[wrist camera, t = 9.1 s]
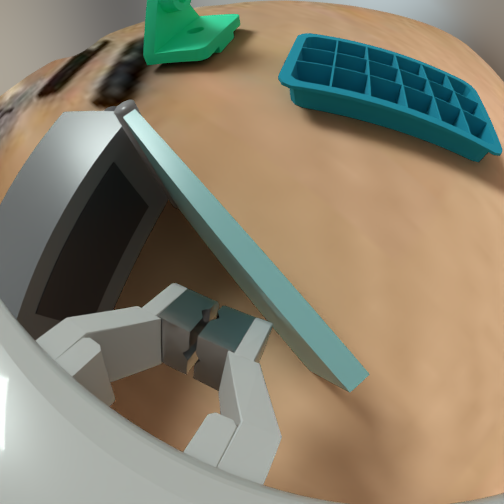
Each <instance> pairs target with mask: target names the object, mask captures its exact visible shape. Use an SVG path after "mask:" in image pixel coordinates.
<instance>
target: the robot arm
mask: <svg viewBox="0 0 504 504" xmlns="http://www.w3.org/2000/svg"><path fill="white" fill-rule="evenodd" d="M218 310H219V311H218ZM216 315H217V318H216V319H215V320H214V318H215V317H216ZM272 327H273V323H271V322H268V321H265V320H263V319H260V318H256V317H253V316H251V315H248V314H246V313H243V312H240V311H238V310H235V309H233V308H231V307H228V306H226V305H225V306H222V307H221V308H220V309H219V303H218V302H216V301H214V300H212V299H210V298H208V297H205V296H203V295H201V294H199V293H197V292H195V291H192V290H190V289H188V288H185V287H183V286H181V285H179V284H177V283H172V284H171V285H169V286H168V287H167V288H166V289H164V290H163V291H162V292H161V293H159V294H158V295H157V296H156V297H154V298H153V299H152V300H151V301H150V302H148V303H147V304H146V305H145V306H143V307H142V308H140V307H139V306H135V307H129V308H123V309H117V310H112V311H105V312H99V313H93V314H87V315H80V316H74V317H67V318H65V319H64V320H63V321H61V322H60V323H58V324H57V325H56V326H54V327H53V328H52V329H50V330H49V331H47V332H46V333H45V334H43V335H42V336H41V337H39V338H38V339H37V340H34V339H33V338H32V337H31V335H30V334H29V333H28V332H27V331H26V330H25V329H24V327H23V326H22V325H21V324H20V323H19V322H18V320H17V319H16V318H15V317H14V315H13V314H12V313H11V312H10V310H9V309H8V308H7V307H6V305H5V304H4V303H3V301H2V300H1V299H0V504H348V503H340V502H333V501H327V500H321V499H316V498H311V497H306V496H302V495H298V494H293V493H289V492H286V491H282V490H278V489H275V488H271V487H268V486H265V485H263V484H264V482H265V479H266V477H267V474H268V472H269V469H270V467H271V464H272V462H273V459H274V457H275V454H276V451H277V449H278V446H279V443H280V441H281V438H282V436H281V433H280V430H279V427H278V423H277V420H276V417H275V414H274V410H273V407H272V404H271V400H270V397H269V394H268V390H267V387H266V383H265V380H264V377H263V373H262V370H261V366H260V364H259V362H260V359H261V357H262V354H263V352H264V349H265V346H266V344H267V341H268V338H269V335H270V333H271V330H272ZM198 358H199V359H198ZM197 359H198V360H197ZM161 363H164V364H166V365H168V366H170V367H172V368H174V369H176V370H178V371H180V372H182V373H184V374H186V375H187V373H188V372H189V371H190V369H191V368H192V367H193V365H194V364H195V365H194V376H193V378H194V379H196V380H198V381H200V382H202V383H204V384H206V385H208V386H210V387H212V388H214V389H216V390H218V391H219V402H220V412H221V415H220V414H218V413H216V412H215V413H211V414H208V415H207V417H206V418H205V420H204V421H203V423H202V424H201V426H200V427H199V429H198V431H197V432H196V434H195V435H194V437H193V438H192V440H191V441H190V443H189V444H188V446H187V447H186V449H185V450H184V452H182V451H180V450H178V449H176V448H174V447H172V446H170V445H169V444H167V443H165V442H163V441H161V440H160V439H158V438H156V437H154V436H153V435H151V434H149V433H148V432H146V431H145V430H143V429H141V428H140V427H138V426H137V425H135V424H134V423H132V422H131V421H129V420H128V419H126V418H125V417H123V416H122V415H120V414H119V413H117V412H116V411H115V410H113V409H112V408H110V406H111V405H112V403H113V402H114V401H115V395H114V392H113V389H112V386H111V383H110V382H113V381H116V380H119V379H122V378H124V377H127V376H130V375H133V374H136V373H138V372H141V371H144V370H146V369H149V368H152V367H154V366H157V365H160V364H161ZM452 504H504V493H501V494H498V495H494V496H490V497H485V498H481V499H476V500H471V501H465V502H459V503H452Z"/></svg>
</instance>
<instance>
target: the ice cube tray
mask: <svg viewBox="0 0 504 504" xmlns="http://www.w3.org/2000/svg"><path fill="white" fill-rule="evenodd" d="M278 79H279V81H280V82H281V84H282V85H284V86H286V87H288V88H290V95H291V100H292V101H293V103H294V104H295V105H298V106H300V107H303V108H308V109H313V110H319V111H324V112H328V113H333V114H338V115H342V116H346V117H350V118H354V119H358V120H362V121H366V122H369V123H373V124H377V125H380V126H383V127H387V128H390V129H393V130H396V131H399V132H402V133H405V134H408V135H411V136H414V137H417V138H419V139H422V140H425V141H427V142H430V143H433V144H435V145H438V146H440V147H442V148H445V149H447V150H450V151H452V152H454V153H456V154H459V155H461V156H463V157H465V158H467V159H470V160H472V161H476V162H479V161H480V160H481V159H482V158H483V157H484V156H485V155H486V154H487V153H488V152H489V153H491V154H493V155H497V156H500V155H501V153H502V147H501V144H500V142H499V139H498V137H497V134H496V132H495V129H494V127H493V125H492V122H491V120H490V118H489V116H488V114H487V111H486V109H485V107H484V105H483V103H482V101H481V99H480V97H479V95H478V94H477V92H476V90H475V89H474V88H473V87H472V86H471V85H469V84H468V83H466V82H465V81H463V80H461V79H459V78H457V77H455V76H453V75H451V74H449V73H447V72H445V71H442V70H440V69H438V68H435V67H433V66H431V65H428V64H426V63H423V62H421V61H418V60H415V59H413V58H410V57H407V56H404V55H401V54H398V53H395V52H392V51H389V50H385V49H382V48H378V47H375V46H371V45H367V44H363V43H359V42H355V41H350V40H346V39H341V38H335V37H330V36H324V35H318V34H311V33H309V34H301V35H298V36H297V38H296V40H295V42H294V44H293V46H292V48H291V50H290V53H289V55H288V57H287V59H286V61H285V63H284V65H283V67H282V69H281V71H280V73H279V76H278Z"/></svg>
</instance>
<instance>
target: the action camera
mask: <svg viewBox="0 0 504 504" xmlns="http://www.w3.org/2000/svg"><path fill="white" fill-rule="evenodd" d="M115 109H116V107H115V106H113V107H108V108H107V109H105V110H104V111H74V112H63V114H62V115H61V116H60V117H59V118H58V119H57V121H56V122H55V123H54V124H53V126H52V127H51V128H50V129H49V131H48V132H47V133H46V134H45V136H44V137H43V138H42V140H41V141H40V142H39V144H38V145H37V146H36V148H35V149H34V151H33V152H32V153H31V155H30V156H29V158H28V159H27V161H26V162H25V164H24V165H23V167H22V168H21V170H20V172H19V173H18V175H17V176H16V178H15V180H14V181H13V183H12V185H11V186H10V188H9V190H8V192H7V193H6V195H5V197H4V199H3V201H2V203H1V204H0V299H1V300H2V301H3V303H4V304H5V305H6V307H7V308H8V309H9V310H10V312H11V313H12V314H13V315H14V317H15V318H16V319H17V320H18V322H19V323H20V324H21V325H22V326H23V327H24V329H25V330H26V331H27V332H28V333H29V334H30V335H31V337H32V338H33V339H34V340H37V339H38V338H39V337H41V336H42V335H43V334H45V333H46V332H47V331H49V330H50V329H52V328H53V327H54V326H56V325H57V324H58V323H60V322H61V321H63V320H64V319H65V318H67V317H74V316H80V315H87V314H93V313H99V312H105V311H112V310H113V309H114V307H115V305H116V302H117V300H118V298H119V295H120V293H121V291H122V289H123V287H124V284H125V282H126V280H127V278H128V276H129V274H130V272H131V270H132V267H133V265H134V263H135V261H136V259H137V257H138V255H139V253H140V251H141V249H142V247H143V245H144V243H145V242H146V240H147V238H148V236H149V234H150V232H151V230H152V228H153V226H154V225H155V223H156V221H157V219H158V217H159V215H160V214H161V212H162V210H163V208H164V207H165V205H166V203H167V201H168V198H167V197H166V195H165V194H164V192H163V191H162V189H161V187H160V186H159V184H158V183H157V181H156V180H155V178H154V177H153V175H152V174H151V172H150V170H149V169H148V167H147V166H146V164H145V163H144V161H143V160H142V158H141V156H140V155H139V153H138V152H137V150H136V148H135V147H134V145H133V144H132V142H131V140H130V139H129V137H128V135H127V134H126V132H125V131H124V129H123V127H122V126H121V124H120V122H119V121H118V119H117V117H116V116H115V114H114V110H115Z"/></svg>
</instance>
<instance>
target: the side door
mask: <svg viewBox="0 0 504 504" xmlns="http://www.w3.org/2000/svg"><path fill="white" fill-rule="evenodd" d="M114 114H115V116H116V117H117V119H118V121H119V122H120V124H121V126H122V127H123V129H124V131H125V132H126V134H127V135H128V137H129V139H130V140H131V142H132V144H133V145H134V147H135V148H136V150H137V152H138V153H139V155H140V156H141V158H142V160H143V161H144V163H145V164H146V166H147V167H148V169H149V170H150V172H151V174H152V175H153V177H154V178H155V180H156V181H157V183H158V184H159V186H160V187H161V189H162V191H163V192H164V194H165V195H166V197H167V198H168V200H169V201H170V203H171V204H172V206H173V207H174V208H179V210H180V211H181V212H182V214H183V215H184V216H185V218H186V219H187V220H188V221H189V223H190V224H191V225H192V227H193V228H194V229H195V231H196V232H197V233H198V234H199V236H200V237H201V238H202V240H203V241H204V242H205V244H206V245H207V246H208V247H209V249H210V250H211V251H212V252H213V254H214V255H215V256H216V258H217V259H218V260H219V261H220V263H221V264H222V265H223V266H224V268H225V269H226V270H227V271H228V273H229V274H230V275H231V276H232V278H233V279H234V280H235V281H236V283H237V284H238V285H239V286H240V288H241V289H242V290H243V291H244V293H245V294H246V295H247V296H248V298H249V299H250V300H251V301H252V302H253V304H254V305H255V306H256V307H257V309H258V310H259V311H260V312H261V313H262V315H263V316H264V317H265V318H266V320H267V321H268V322H271V323H273V328H274V329H275V330H276V332H277V333H278V334H279V335H280V336H281V338H282V339H283V340H284V341H285V342H286V343H287V345H288V346H289V347H290V348H291V349H292V351H293V352H294V353H295V354H296V355H297V356H298V358H299V359H300V360H301V361H302V362H303V363H304V365H305V366H306V367H307V368H308V369H309V370H310V371H312V372H313V373H315V374H317V375H319V376H320V377H322V378H324V379H326V380H328V381H329V382H331V383H333V384H335V385H337V386H339V387H341V388H342V389H344V390H346V391H348V392H351V391H352V390H353V389H354V388H356V387H357V386H358V385H359V384H360V383H361V382H362V381H363V380H364V379H365V378H366V377H367V376H368V375H369V373H368V372H367V371H366V369H365V368H364V367H363V366H362V365H361V364H360V363H359V361H358V360H357V359H356V358H355V357H354V356H353V354H352V353H351V352H350V351H349V350H348V349H347V347H346V346H345V345H344V344H343V343H342V342H341V340H340V339H339V338H338V337H337V336H336V335H335V333H334V332H333V331H332V330H331V329H330V328H329V327H328V325H327V324H326V323H325V322H324V321H323V320H322V318H321V317H320V316H319V315H318V314H317V313H316V312H315V310H314V309H313V308H312V307H311V306H310V305H309V304H308V302H307V301H306V300H305V299H304V298H303V297H302V296H301V294H300V293H299V292H298V291H297V290H296V289H295V288H294V286H293V285H292V284H291V283H290V282H289V281H288V280H287V278H286V277H285V276H284V275H283V274H282V273H281V272H280V270H279V269H278V268H277V267H276V266H275V265H274V264H273V262H272V261H271V260H270V259H269V258H268V257H267V256H266V254H265V253H264V252H263V251H262V250H261V249H260V248H259V247H258V245H257V244H256V243H255V242H254V241H253V240H252V239H251V238H250V236H249V235H248V234H247V233H246V232H245V231H244V230H243V228H242V227H241V226H240V225H239V224H238V223H237V222H236V221H235V219H234V218H233V217H232V216H231V215H230V214H229V213H228V212H227V210H226V209H225V208H224V207H223V206H222V205H221V204H220V203H219V201H218V200H217V199H216V198H215V197H214V196H213V195H212V194H211V193H210V191H209V190H208V189H207V188H206V187H205V186H204V185H203V184H202V182H201V181H200V180H199V179H198V178H197V177H196V176H195V175H194V174H193V172H192V171H191V170H190V169H189V168H188V167H187V166H186V165H185V164H184V162H183V161H182V160H181V159H180V158H179V157H178V156H177V155H176V154H175V152H174V151H173V150H172V149H171V148H170V147H169V146H168V145H167V144H166V142H165V141H164V140H163V139H162V138H161V137H160V136H159V135H158V134H157V133H156V131H155V130H154V129H153V128H152V127H151V126H150V125H149V124H148V123H147V122H146V120H145V119H144V118H143V117H142V116H141V114H140V112H139V110H138V108H137V106H136V104H135V102H134V101H133V100H127V101H125V102H123V103H121V104H120V105H118V106H117V107H116V109H115V110H114Z"/></svg>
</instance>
